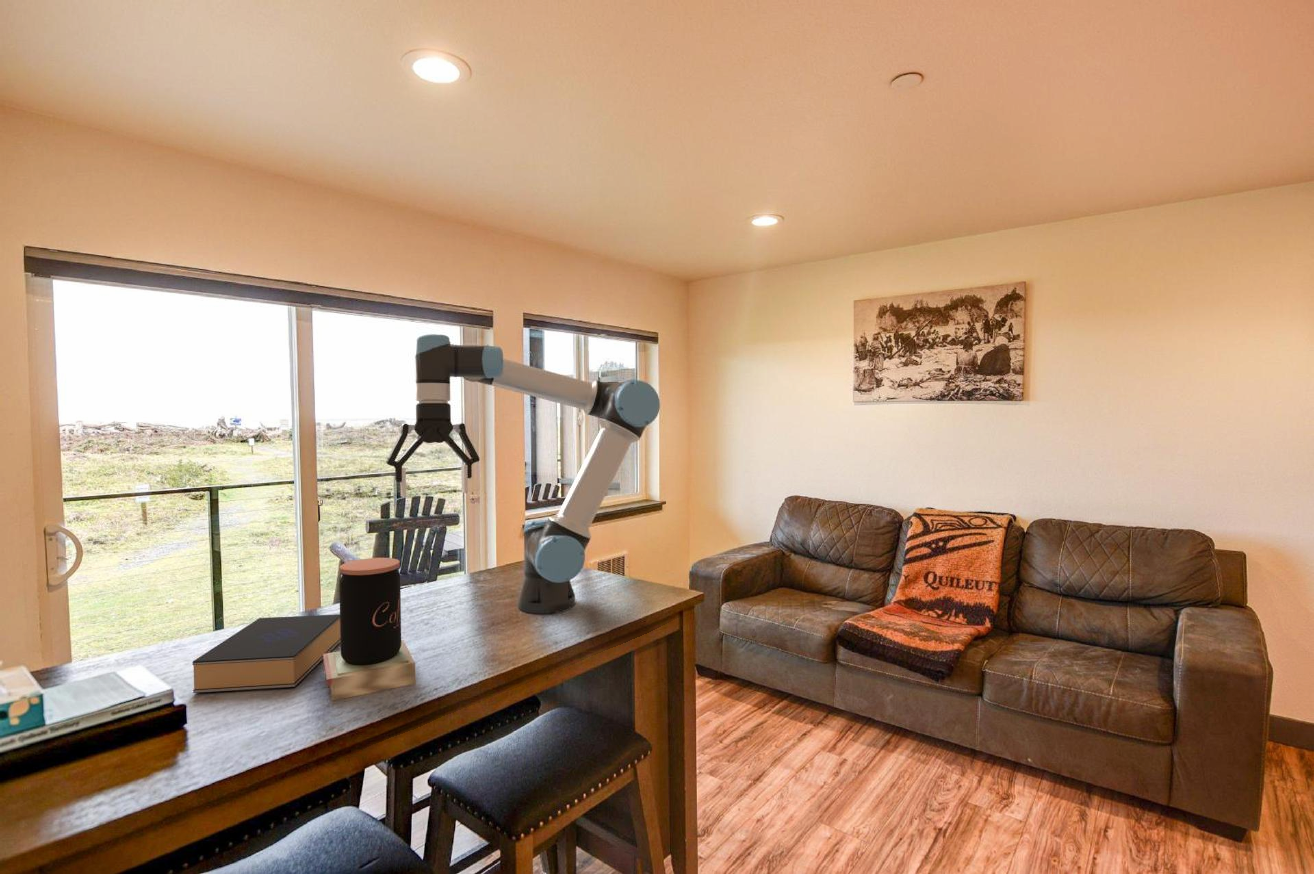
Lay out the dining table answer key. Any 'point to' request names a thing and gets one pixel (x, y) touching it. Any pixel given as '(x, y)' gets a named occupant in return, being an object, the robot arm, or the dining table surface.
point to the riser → (367, 674)
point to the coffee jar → (370, 610)
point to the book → (267, 654)
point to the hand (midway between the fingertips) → (434, 494)
